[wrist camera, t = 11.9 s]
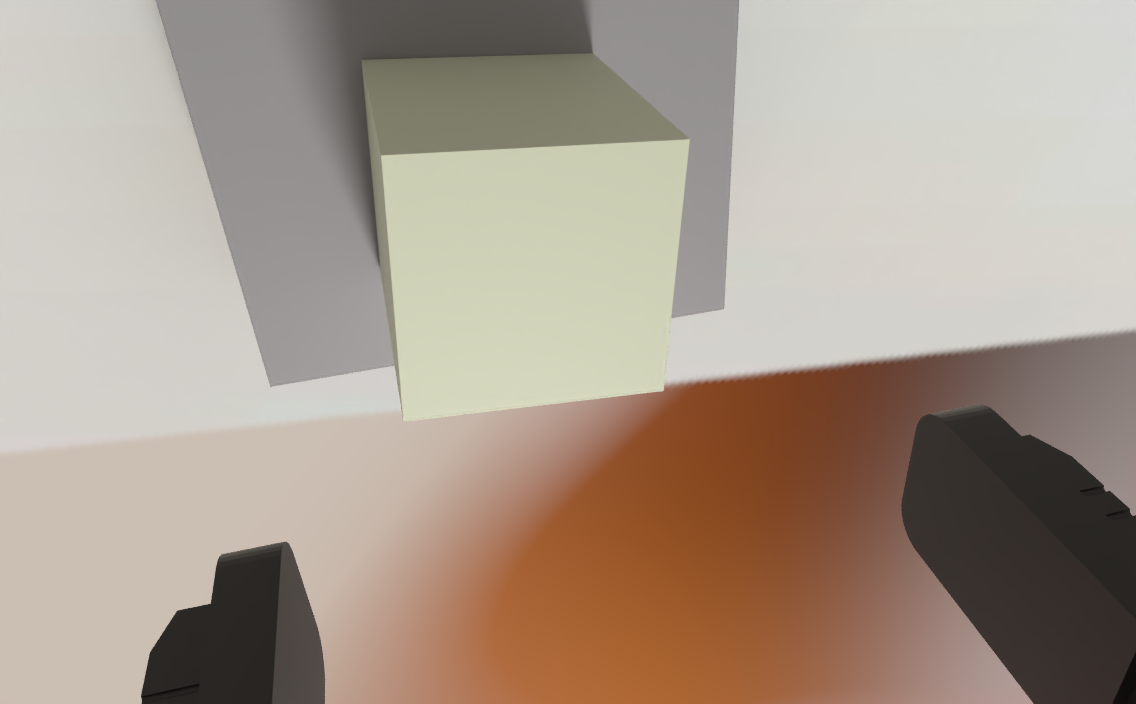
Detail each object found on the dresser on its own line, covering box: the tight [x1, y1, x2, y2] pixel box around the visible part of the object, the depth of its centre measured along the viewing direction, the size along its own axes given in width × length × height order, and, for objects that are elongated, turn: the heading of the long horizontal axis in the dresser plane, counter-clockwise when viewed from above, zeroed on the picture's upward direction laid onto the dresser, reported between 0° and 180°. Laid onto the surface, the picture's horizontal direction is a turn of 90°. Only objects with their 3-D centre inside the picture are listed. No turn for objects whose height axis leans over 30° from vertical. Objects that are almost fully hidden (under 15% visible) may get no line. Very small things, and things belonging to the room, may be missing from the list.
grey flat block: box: [156, 0, 739, 387], centre depth 22 cm, size 12×10×3 cm
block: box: [361, 53, 690, 422], centre depth 18 cm, size 5×5×6 cm
